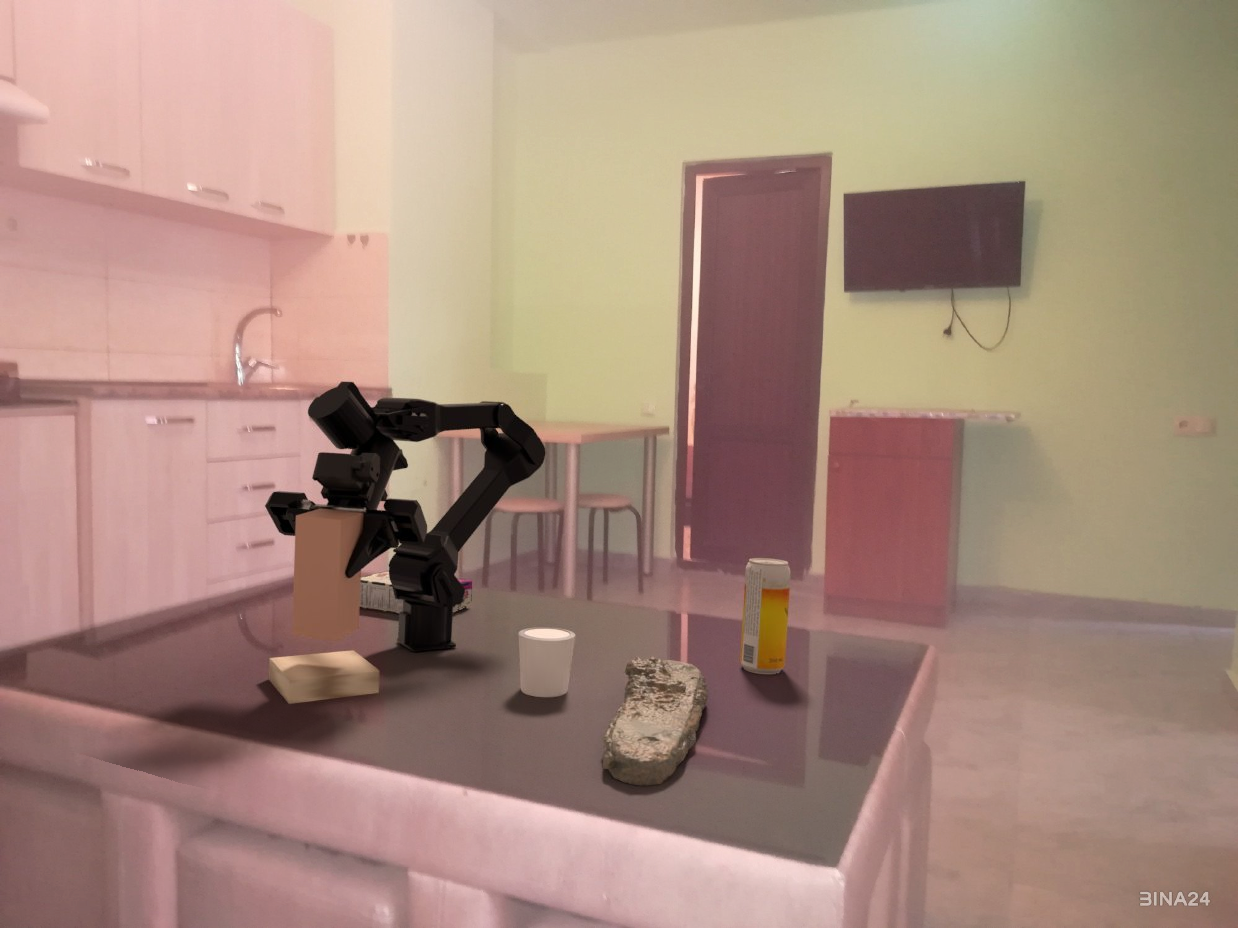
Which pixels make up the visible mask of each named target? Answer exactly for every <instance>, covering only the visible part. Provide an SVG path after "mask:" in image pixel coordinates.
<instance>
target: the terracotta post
mask: <svg viewBox="0 0 1238 928" xmlns="http://www.w3.org/2000/svg"><path fill="white" fill-rule="evenodd" d="M362 529H363V513H358V512H349V511H339V510H330V509H317V510H314V511H310V512H307V513H303V514H300V515H296V528H295V536H294V559H293V561H294V565H293V567H294V568H293V590H292V591H293V593H292V594H293V595H292V597H293V598H292V623H291V627H292V628H291V636H292V637H301V638H307V639H315V640H321V641H331V642H338V641H340V640H341V639H342V638H345V637H346V636H348V635H349V634H351V633H353V632H354V631H356V630H358V629H359V628H360V609H361V608H360V585H361V577H362V569H361V570H360V571H359V572H358V573H357V574H355V575H354V576H353V577H352V578H347V576H346V574H345V571H346V568H347V565H348V562H349V559H350V557H351V555H352V553H353V551H354V548H355V546H356V544H357V542H358V540H359V537H360V535H361V533H362Z"/></svg>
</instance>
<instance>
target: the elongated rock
mask: <svg viewBox="0 0 1238 928" xmlns="http://www.w3.org/2000/svg"><path fill="white" fill-rule="evenodd" d="M624 673H625V675H626V676H627V677H628V681H627V682H626V685H625V688H624V691H625V692H624V698H623V703H621V704H620V706H619V708H618V709H617V710H616V713H615V714H614V716H613V718H611V719H610V720H609V725H608V729H606V731H605V733H604V735H603V737H602V739H603V740H602V741H603V744H604V745H603V749H604V750H603V762H602V763H603V766H602V768H603V769H604V770H606V769H607V770H608V771H609V773H610V774H611V777H613V779H616V780H618V781H620V782H622V783H626V784H629V785H634V786H641V787H642V786H645V787H648V786H655V785H656V786H657V785H661V784H663V783H664V781H667V779H668V778H669V777H670V776H672V775H673V774H674V772H675V770H676V769H677V767H678V765H679V764H681V763H682V761H684V759H685V758H686V756H687V755H688V752H689V750H691V748H692V747H693V746H694V745H695V744H696V743H697V735H696V732H697V731H698V729H699V726H700V721H701V717H702V716H703V710H704V709H705V706H706V705H707V701H708V697H709V696H708V695H709V694H708V688H707V687H708V686H707V684H706V683H705V682H706V678H705V676H703V674H702V672H701V670H700V669H699V668H698V667H697V666H695V665H694V664H692V663H688V662H684V661H678V660H673V659H666V660H665V659H663V660H662V659H661V658H657V657H654V656H650V657H649V658H646V659H645V658H644V659H641V658H640V657H636V658H635V659H632V660H629V662H628V663H627V664H626V666H625V670H624Z"/></svg>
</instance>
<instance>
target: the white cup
mask: <svg viewBox="0 0 1238 928" xmlns="http://www.w3.org/2000/svg"><path fill="white" fill-rule="evenodd" d="M575 641H576V634H575V633H574V632H573V631H570V630H568V629H565V628H560V627H559V628H558V627H545V626H544V627H538V626H537V627H530V628H529V627H528V628H524V629H521V630H520V631H519V632H518V655H519V658H518V659H519V677H520V690H521V691H520V692H522V693H523V694H525V695H527V696H533V697H536V698H537V697H538V698H555V697H561V696H564V695H566V694H567V692H568V689H569V683H570V674H571V669H572V663H573V662H572V661H573V654H574V647H575Z"/></svg>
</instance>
